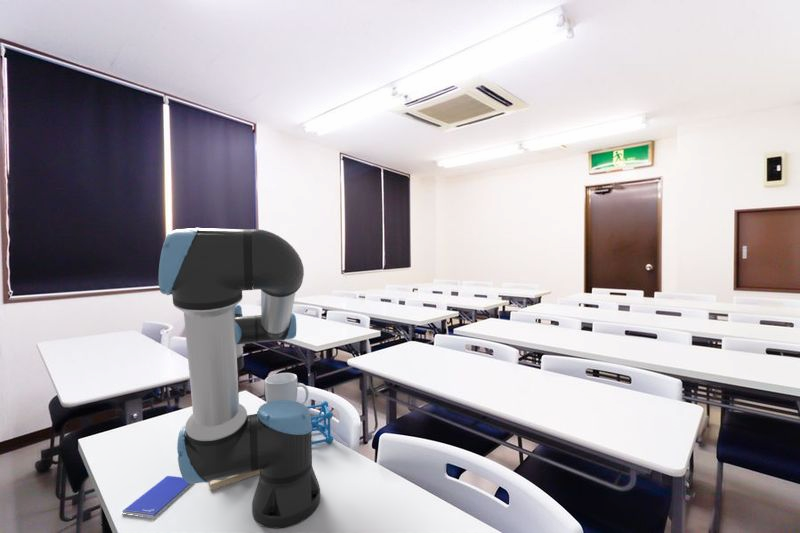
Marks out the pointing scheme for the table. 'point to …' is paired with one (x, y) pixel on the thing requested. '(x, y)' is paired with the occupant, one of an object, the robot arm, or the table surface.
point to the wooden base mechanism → (231, 479)
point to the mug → (283, 387)
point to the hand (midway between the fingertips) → (232, 432)
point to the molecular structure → (323, 427)
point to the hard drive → (158, 497)
